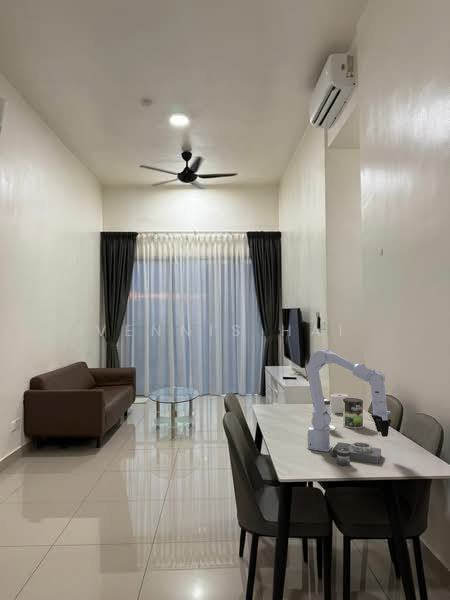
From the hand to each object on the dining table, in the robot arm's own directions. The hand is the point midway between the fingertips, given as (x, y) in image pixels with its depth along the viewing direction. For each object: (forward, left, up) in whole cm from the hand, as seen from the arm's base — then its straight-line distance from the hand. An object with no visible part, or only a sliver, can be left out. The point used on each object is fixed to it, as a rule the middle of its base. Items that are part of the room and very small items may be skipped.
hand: (382, 434), depth 177 cm
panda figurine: (-34, +36, -10) cm, 50 cm away
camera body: (-10, -2, -10) cm, 14 cm away
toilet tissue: (-35, +76, -10) cm, 84 cm away
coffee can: (-21, +46, -10) cm, 52 cm away
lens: (-13, -14, -10) cm, 22 cm away
